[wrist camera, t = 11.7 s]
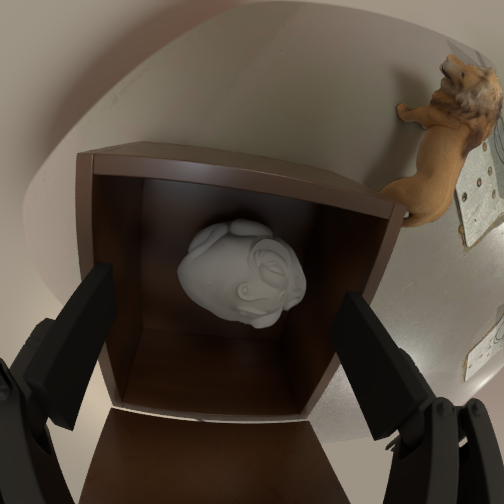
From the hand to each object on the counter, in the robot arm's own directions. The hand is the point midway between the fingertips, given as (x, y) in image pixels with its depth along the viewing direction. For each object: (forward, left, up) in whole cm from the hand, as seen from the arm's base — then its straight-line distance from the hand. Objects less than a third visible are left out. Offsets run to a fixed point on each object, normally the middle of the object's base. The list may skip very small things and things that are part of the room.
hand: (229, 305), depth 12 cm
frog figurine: (0, +1, -8) cm, 8 cm away
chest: (+2, 0, -8) cm, 9 cm away
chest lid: (+7, 0, +9) cm, 11 cm away
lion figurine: (-10, +12, -9) cm, 18 cm away
